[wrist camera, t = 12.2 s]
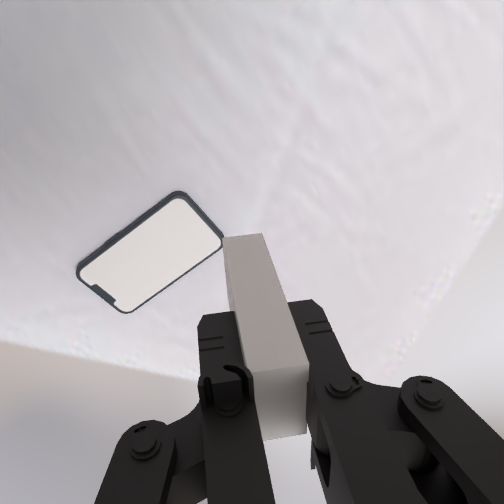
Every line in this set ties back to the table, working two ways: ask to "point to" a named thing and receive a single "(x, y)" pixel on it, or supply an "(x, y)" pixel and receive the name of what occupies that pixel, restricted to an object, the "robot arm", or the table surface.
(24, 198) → the table surface
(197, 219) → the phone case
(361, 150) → the table surface
